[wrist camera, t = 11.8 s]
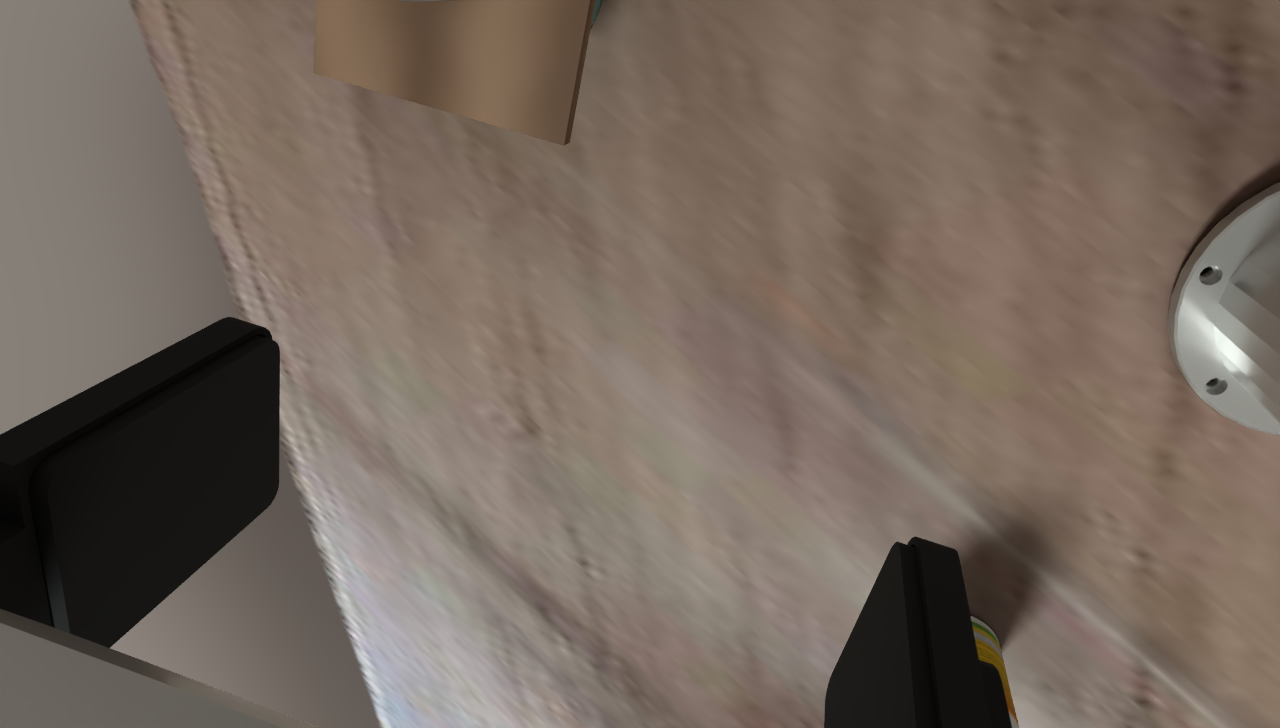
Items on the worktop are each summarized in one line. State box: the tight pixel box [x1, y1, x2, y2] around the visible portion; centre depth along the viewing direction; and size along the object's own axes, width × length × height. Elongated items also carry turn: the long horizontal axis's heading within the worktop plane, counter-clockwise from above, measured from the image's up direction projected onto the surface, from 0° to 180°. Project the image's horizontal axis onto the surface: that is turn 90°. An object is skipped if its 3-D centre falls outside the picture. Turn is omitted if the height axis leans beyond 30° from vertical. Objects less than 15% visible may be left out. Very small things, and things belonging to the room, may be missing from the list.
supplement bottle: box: [971, 616, 1019, 728], centre depth 43 cm, size 5×5×10 cm
